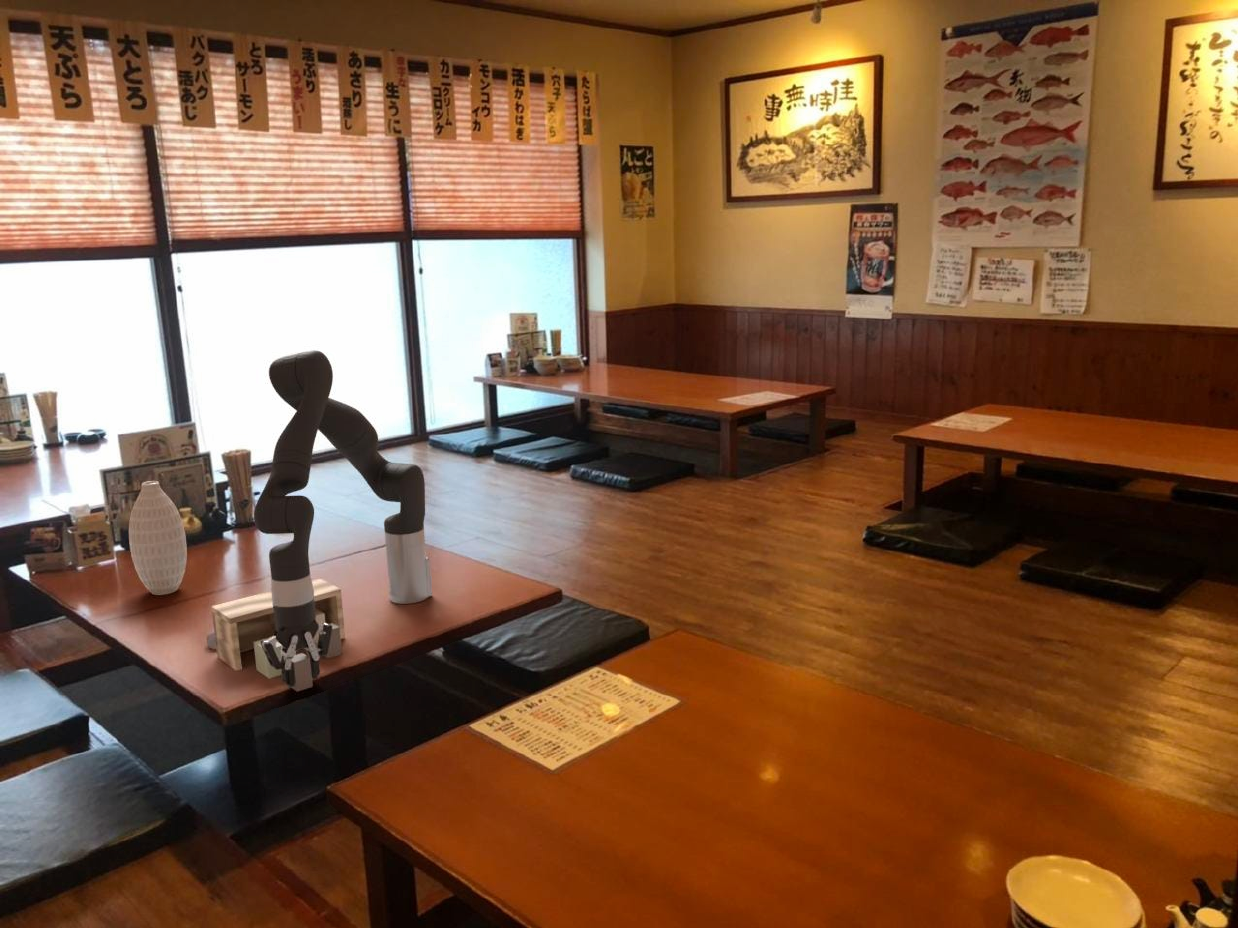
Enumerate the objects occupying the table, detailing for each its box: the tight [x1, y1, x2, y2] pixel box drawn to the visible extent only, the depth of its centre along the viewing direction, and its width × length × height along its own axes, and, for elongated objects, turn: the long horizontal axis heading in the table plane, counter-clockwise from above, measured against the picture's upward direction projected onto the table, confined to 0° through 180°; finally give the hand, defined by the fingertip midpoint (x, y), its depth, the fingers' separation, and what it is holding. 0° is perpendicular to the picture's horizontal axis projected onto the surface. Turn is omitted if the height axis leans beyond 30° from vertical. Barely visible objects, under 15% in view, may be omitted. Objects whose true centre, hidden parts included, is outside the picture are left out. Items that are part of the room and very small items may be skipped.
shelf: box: [210, 578, 346, 671], centre depth 210 cm, size 10×24×11 cm, turn 132°
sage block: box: [253, 637, 313, 693], centre depth 195 cm, size 16×6×6 cm, turn 42°
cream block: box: [313, 608, 343, 659], centre depth 210 cm, size 16×6×6 cm, turn 42°
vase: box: [128, 480, 188, 596], centre depth 245 cm, size 13×13×28 cm
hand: (301, 681), depth 191 cm, fingers open, 4 cm apart
